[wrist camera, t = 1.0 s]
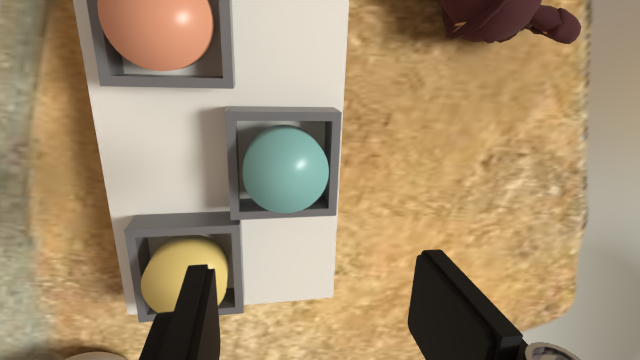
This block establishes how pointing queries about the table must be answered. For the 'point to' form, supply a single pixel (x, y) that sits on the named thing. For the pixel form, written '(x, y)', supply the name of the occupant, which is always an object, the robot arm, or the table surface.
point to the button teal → (284, 169)
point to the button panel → (222, 145)
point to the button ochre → (181, 269)
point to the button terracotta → (158, 31)
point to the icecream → (506, 20)
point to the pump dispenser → (96, 356)
